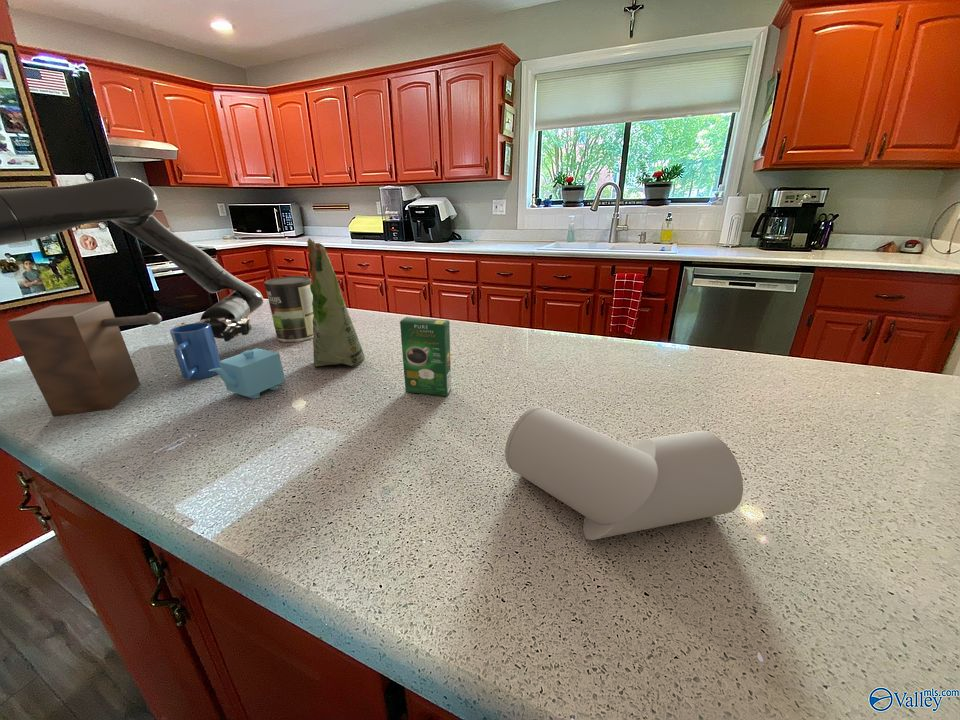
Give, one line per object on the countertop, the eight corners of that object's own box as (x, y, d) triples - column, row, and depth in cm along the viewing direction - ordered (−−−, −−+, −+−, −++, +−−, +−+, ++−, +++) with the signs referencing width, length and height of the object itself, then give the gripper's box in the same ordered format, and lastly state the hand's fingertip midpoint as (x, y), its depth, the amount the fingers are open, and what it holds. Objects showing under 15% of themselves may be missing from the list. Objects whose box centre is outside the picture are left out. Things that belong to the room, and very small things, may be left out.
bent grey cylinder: (551, 582, 33) (753, 538, 37) (546, 464, 31) (759, 430, 35) (498, 485, 50) (640, 462, 54) (493, 405, 48) (640, 386, 52)
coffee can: (287, 345, 93) (274, 286, 88) (270, 336, 100) (257, 280, 94) (328, 334, 100) (318, 279, 95) (309, 327, 107) (299, 274, 101)
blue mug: (192, 369, 81) (177, 324, 78) (227, 364, 83) (214, 321, 79) (169, 392, 71) (151, 343, 67) (209, 387, 73) (194, 339, 69)
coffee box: (454, 390, 70) (450, 318, 65) (448, 397, 67) (444, 323, 62) (411, 386, 72) (404, 316, 67) (405, 393, 69) (397, 320, 64)
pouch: (346, 375, 76) (324, 241, 67) (295, 369, 80) (267, 240, 70) (376, 355, 86) (361, 235, 77) (330, 350, 90) (309, 235, 80)
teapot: (231, 411, 64) (218, 368, 61) (209, 403, 67) (195, 362, 64) (293, 382, 74) (285, 344, 71) (271, 376, 77) (263, 340, 74)
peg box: (53, 416, 64) (6, 321, 58) (89, 390, 73) (52, 305, 67) (168, 401, 68) (136, 310, 62) (190, 378, 77) (163, 297, 71)
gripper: (186, 305, 91) (154, 325, 77) (254, 300, 95) (236, 317, 81) (195, 336, 94) (167, 360, 80) (261, 330, 98) (245, 352, 83)
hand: (202, 339), depth 80 cm, fingers open, 8 cm apart
